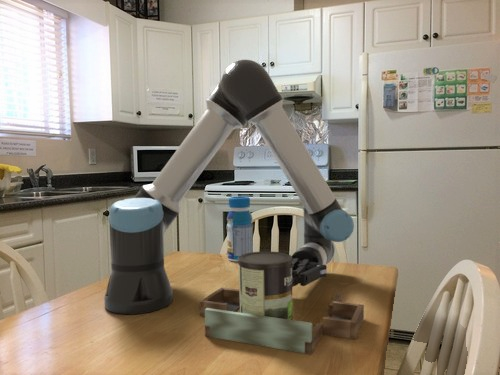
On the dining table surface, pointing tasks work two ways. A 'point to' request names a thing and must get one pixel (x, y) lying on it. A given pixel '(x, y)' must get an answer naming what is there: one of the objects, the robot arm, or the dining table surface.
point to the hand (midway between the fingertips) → (277, 288)
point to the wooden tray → (276, 323)
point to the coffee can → (266, 284)
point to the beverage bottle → (239, 228)
